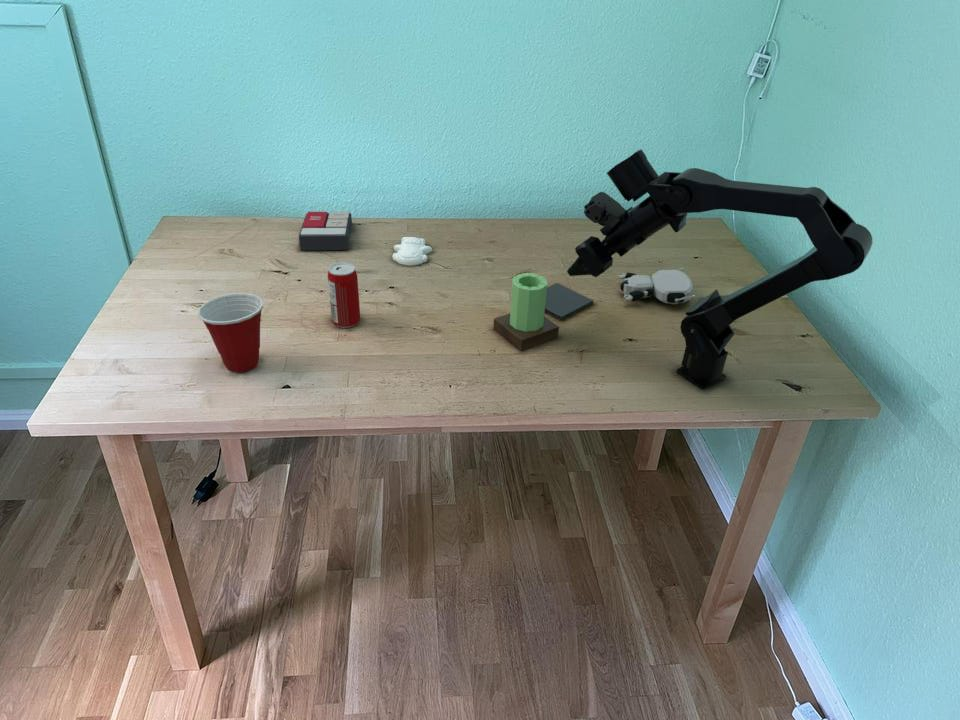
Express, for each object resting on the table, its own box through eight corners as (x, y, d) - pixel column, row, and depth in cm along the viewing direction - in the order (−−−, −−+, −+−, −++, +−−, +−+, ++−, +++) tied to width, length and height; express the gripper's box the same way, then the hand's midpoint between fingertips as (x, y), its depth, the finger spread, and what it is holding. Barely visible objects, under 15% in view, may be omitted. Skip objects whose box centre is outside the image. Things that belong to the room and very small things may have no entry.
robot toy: (622, 312, 147) (695, 312, 146) (624, 293, 144) (698, 292, 144) (615, 284, 157) (684, 283, 156) (617, 266, 155) (687, 265, 154)
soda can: (366, 320, 140) (362, 265, 133) (347, 332, 136) (342, 276, 129) (345, 311, 142) (341, 257, 135) (326, 322, 138) (320, 268, 131)
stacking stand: (558, 337, 137) (561, 306, 133) (521, 351, 133) (523, 319, 129) (529, 316, 143) (532, 286, 139) (493, 329, 139) (494, 298, 135)
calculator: (351, 209, 174) (346, 232, 162) (352, 226, 177) (348, 250, 164) (305, 209, 173) (297, 233, 161) (307, 226, 176) (299, 250, 163)
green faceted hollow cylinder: (515, 311, 140) (518, 270, 135) (547, 318, 138) (552, 277, 133) (504, 326, 135) (507, 285, 130) (537, 334, 133) (541, 292, 128)
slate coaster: (592, 304, 148) (593, 300, 147) (561, 321, 142) (561, 316, 141) (556, 286, 154) (557, 282, 153) (525, 301, 148) (525, 297, 147)
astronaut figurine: (435, 244, 168) (435, 233, 167) (424, 267, 159) (423, 255, 157) (399, 241, 169) (399, 229, 168) (386, 263, 160) (385, 251, 158)
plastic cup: (248, 339, 133) (238, 283, 126) (285, 361, 127) (276, 304, 120) (197, 364, 126) (183, 306, 119) (233, 389, 120) (221, 329, 113)
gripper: (638, 167, 127) (579, 213, 138) (590, 198, 114) (529, 246, 125) (674, 218, 127) (612, 260, 139) (629, 255, 115) (565, 297, 126)
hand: (580, 264), depth 132 cm, fingers open, 9 cm apart
